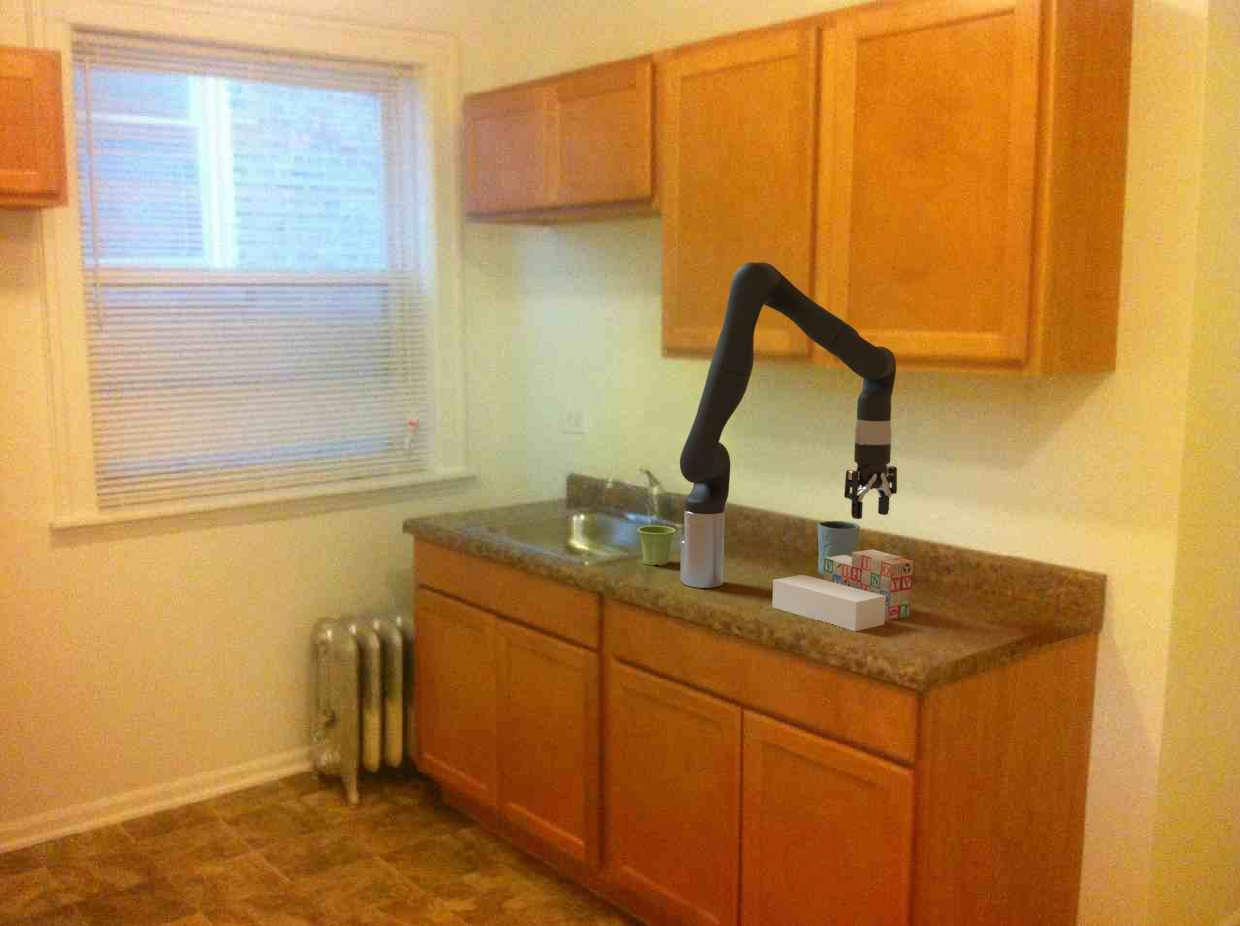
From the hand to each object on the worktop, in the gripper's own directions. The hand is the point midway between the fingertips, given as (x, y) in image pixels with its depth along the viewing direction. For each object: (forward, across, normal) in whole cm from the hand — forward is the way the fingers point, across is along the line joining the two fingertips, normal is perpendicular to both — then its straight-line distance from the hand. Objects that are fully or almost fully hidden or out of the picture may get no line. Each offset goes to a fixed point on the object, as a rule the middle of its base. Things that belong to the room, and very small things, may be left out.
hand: (870, 516), depth 250 cm
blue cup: (+20, -20, -26) cm, 39 cm away
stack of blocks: (+20, 0, 0) cm, 20 cm away
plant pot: (+20, +10, -59) cm, 63 cm away
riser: (+20, +12, 0) cm, 23 cm away
